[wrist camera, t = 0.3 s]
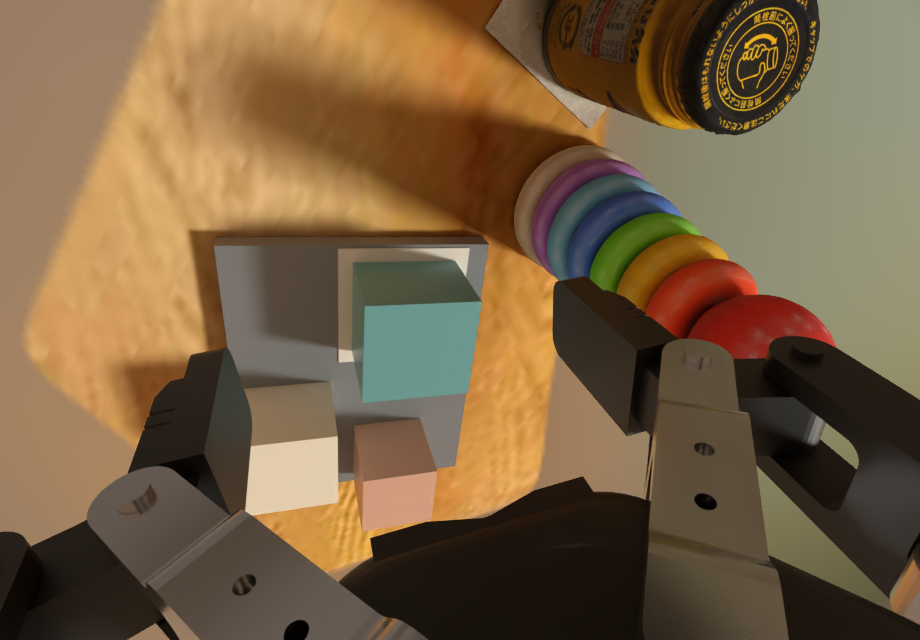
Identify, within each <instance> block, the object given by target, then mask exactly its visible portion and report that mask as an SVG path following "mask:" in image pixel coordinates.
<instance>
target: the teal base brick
mask: <svg viewBox="0 0 920 640" xmlns="http://www.w3.org/2000/svg"><path fill="white" fill-rule="evenodd" d="M481 304H482V301H481V299H480V298H479V296H478V295H477V293H476V292H475V290H474V289H473V287H472V286H471V284H470V283H469V281H468V279H467V278H466V276H465V275H464V273H463V272H462V270H461V269H460V267H459V266H458V264H457V263H456V261H408V262H353V290H352V354H353V359H354V364H355V369H356V374H357V379H358V384H359V389H360V394H361V399H362V403H369V402H379V401H390V400H400V399H410V398H421V397H431V396H441V395H452V394H462V393H468V388H469V382H470V375H471V369H472V362H473V356H474V349H475V343H476V336H477V330H478V323H479V317H480V311H481Z"/></svg>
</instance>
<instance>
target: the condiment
mask: <svg viewBox="0 0 920 640" xmlns="http://www.w3.org/2000/svg"><path fill="white" fill-rule="evenodd" d="M538 12H539V15H540V19H539V20H537V13H538ZM539 23H541V28H540V29H539V28H538V24H539ZM485 29H486V30H487V31H488V32H489V33H490V34H491V35H492V36H493V37H495V38H496V39H497V40H498V41H499V42H500V43H501V44H502V45H503V46H504V47H505V48H506V49H507V50H508V51H509V52H510V53H511V54H512V55H513V56H514V57H515V58H516V59H518V60H519V61H520V62H521V64H522V65H524V66H525V67H526V68H527V69H528V70H529V71H530V72H531V73H532V74H533V75H534V76H535V77H536V78H537V79H538V80H539V81H540V82H541V83H542V84H543V85H544V86H545V87H546V88H547V89H548V90H549V91H550V92H551V93H552V94H553V95H554V96H555V97H556V98H558V99H559V100H560V101H561V102H562V103H563V104H564V105H565V106H566V107H567V108H568V109H569V110H570V111H571V112H572V113H573V114H574V115H575V116H576V117H577V118H578V119H579V120H580V121H581V122H583V123H584V124H585V125H586V126H587V127H588V128H589V129H591V128H592V127H593V125H594V124H595V123H596V122H597V120H598V119H599V118H600V116H601V115H602V114H603V112H604V111H605V109H606V108H607V107H611V108H613V109H616V110H619V111H621V112H623V113H627V114H630V115H632V116H636V117H639V118H641V119H643V120H646V121H648V122H651V123H656V124H657V125H659V126H665V127H668V128H673V129H678V130H681V129H691V128H695V129H704V130H706V131H709V132H715V134H731V135H739V134H743V133H746V132H749V131H752V130H754V129H756V128H758V127H759V126H761V125H763V124H765V123H766V122H768V121H769V120H771V119H772V118H773V117H774V116H775V115H776V114H778V113H779V112H780V111H781V110H782V109H783V107H784V106H785V105H786V104H787V103H788V102H789V101H790V100H791V99H792V97H793V96H794V95H795V94H796V93H797V92H799V91H800V88H801V84H802V82H803V80H804V79H805V77H806V75H807V73H808V71H809V69H810V67H811V65H812V62H813V59H814V55H815V51H816V47H817V43H818V40H819V32H820V20H819V15H818V4H817V0H503V1H502V2H501V3H500V5H499V7H498V9H497V10H496V12H495V13H494V15H493V16H492V18H491V19H490V21H489V22H488V24H487V25H486V26H485Z"/></svg>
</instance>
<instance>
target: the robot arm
mask: <svg viewBox="0 0 920 640" xmlns="http://www.w3.org/2000/svg"><path fill="white" fill-rule="evenodd" d="M553 341H554V345H555V348H556V351H557V353H558V355H559V356H560V357H561V359H562V360H563V361H564V362H565V363H566V365H567V366H568V367H569V368H570V369H571V371H572V372H573V373H574V374H575V375H576V376H577V378H578V379H579V380H580V381H581V382H582V384H583V385H584V386H585V387H586V388H587V389H588V391H589V392H590V393H591V394H592V395H593V397H594V398H595V399H596V400H597V401H598V402H599V404H600V405H601V406H602V407H603V408H604V410H605V411H606V412H607V413H608V414H609V416H610V417H611V418H612V419H613V420H614V422H615V423H616V424H617V425H618V426H619V427H620V429H621V430H622V431H623V432H624V433H625V434H626V436H629V435H633V434H637V433H640V432H644V431H647V432H648V433H649V435H650V438H649V445H648V454H647V463H646V473H645V483H644V494H643V499H642V498H639V497H635V496H631V495H627V494H622V493H614V492H593V491H592V489H591V488H590V486H589V485H588V483H587V482H586V480H585V479H584V477H579V478H576V479H572V480H569V481H565V482H562V483H558V484H555V485H552V486H548V487H545V488H541V489H538V490H535V491H533V492H531V493H529V494H527V495H526V496H524V497H522V498H520V499H518V500H517V501H515V502H513V503H511V504H510V505H508V506H506V507H504V508H503V509H501V510H499V511H497V512H496V513H494V514H492V515H490V516H488V517H485V518H477V519H463V520H448V521H433V522H424V523H421V524H417V525H414V526H411V527H407V528H404V529H400V530H397V531H393V532H390V533H387V534H383V535H380V536H376V537H373V538H370V540H371V546H372V552H373V557H371V558H370V559H368V560H366V561H364V562H363V563H361V564H360V565H359V566H357V567H356V568H354V569H353V570H351V571H350V572H349V573H348V574H347V575H346V576H344V577H343V578H342V579H341V580H340V581H339V582H337V581H336V580H334V579H333V578H332V577H331V576H329V575H328V574H327V573H325V572H324V571H323V570H322V569H320V568H319V567H318V566H316V565H315V564H314V563H312V562H311V561H310V560H309V559H307V558H306V557H305V556H303V555H302V554H301V553H300V552H298V551H297V550H296V549H294V548H293V547H292V546H290V545H289V544H288V543H287V542H285V541H284V540H283V539H281V538H280V537H279V536H278V535H276V534H275V533H274V532H272V531H271V530H270V529H268V528H267V527H266V526H265V525H263V524H262V523H261V522H259V521H258V520H257V519H256V518H254V517H253V516H252V515H250V514H249V513H247V512H246V511H245V508H246V496H247V485H248V473H249V461H250V450H251V438H252V416H251V410H250V406H249V402H248V399H247V396H246V394H245V391H244V388H243V385H242V382H241V379H240V377H239V374H238V371H237V368H236V365H235V362H234V360H233V357H232V354H231V352H230V351H229V349H228V348H222V349H217V350H212V351H207V352H202V353H197V354H193V355H191V357H190V360H189V363H188V366H187V370H186V373H185V377H184V379H179V380H174V381H170V382H169V383H168V384H167V385H166V386H165V387H164V389H163V390H162V391H161V392H160V393H159V394H158V395H157V396H156V397H155V399H154V402H153V404H152V407H151V410H150V413H149V415H150V417H148V418H147V421H146V424H145V427H144V428H145V430H144V431H143V432H142V435H141V438H140V440H139V443H138V446H137V449H136V452H135V454H134V457H133V460H132V463H131V465H130V469H129V471H128V474H127V475H124V476H122V477H121V478H119V479H117V480H116V481H114V482H113V483H111V484H110V485H108V486H107V487H106V488H105V489H104V490H102V491H101V492H100V493H99V494H98V496H97V497H96V498H95V499H94V501H93V502H92V504H91V506H90V507H89V510H88V513H87V520H85V521H84V522H82V523H80V524H78V525H76V526H74V527H72V528H70V529H68V530H65V531H63V532H61V533H59V534H57V535H54V536H52V537H50V538H48V539H46V540H44V541H42V542H40V543H37V544H35V545H33V546H30V545H29V543H28V542H27V541H26V540H25V538H24V537H23V536H22V535H20V534H18V533H15V532H0V640H127V639H129V638H131V637H133V636H134V635H136V634H138V633H139V632H141V631H143V630H145V629H146V628H148V627H150V626H151V625H153V624H154V626H155V627H156V628H157V629H158V631H159V632H160V633H161V634H162V635H163V636H164V638H165V639H166V640H920V400H919V399H917V398H916V397H914V396H913V395H911V394H910V393H908V392H906V391H905V390H903V389H902V388H900V387H898V386H897V385H895V384H894V383H892V382H890V381H889V380H887V379H885V378H884V377H882V376H881V375H879V374H878V373H876V372H874V371H873V370H871V369H869V368H868V367H866V366H864V365H863V364H861V363H860V362H858V361H857V360H855V359H853V358H852V357H850V356H849V355H847V354H845V353H844V352H842V351H841V350H839V349H837V348H836V347H834V346H832V345H830V344H828V343H826V342H823V341H820V340H817V339H813V338H809V337H802V336H784V337H780V338H777V339H775V340H773V341H772V342H771V343H770V345H769V349H768V352H767V356H766V358H749V359H733V358H732V356H731V354H730V353H729V352H728V351H727V350H725V349H724V348H722V347H721V346H719V345H716V344H714V343H711V342H708V341H704V340H699V339H678V338H677V337H676V336H675V335H673V334H672V333H671V332H669V331H668V330H667V329H666V328H664V327H663V326H662V325H660V324H659V323H658V322H657V321H655V320H654V319H653V318H651V317H648V314H646V313H645V312H644V311H643V310H641V309H638V307H637V306H636V305H635V304H634V303H632V302H631V301H630V300H628V299H627V298H626V297H624V296H621V295H619V294H616V293H614V292H611V291H609V290H605V291H604V290H602V289H601V288H600V287H599V286H598V285H596V284H595V283H594V282H593V281H591V280H590V279H589V278H588V277H586V276H581V277H576V278H571V279H566V280H561V281H557V282H556V283H555V286H554V291H553ZM826 423H827V424H829V425H830V426H831V427H832V428H834V429H835V430H836V431H837V432H839V433H840V434H842V435H843V436H844V437H845V438H846V439H848V440H849V441H850V442H851V444H852V445H853V446H854V448H855V450H856V451H857V454H858V457H859V465H858V469H855V468H854V467H853V466H852V465H850V464H849V463H848V462H847V461H846V460H844V459H843V458H842V457H841V456H840V455H838V454H837V453H836V452H835V451H834V450H832V449H831V448H830V447H829V446H827V445H826V444H825V443H824V442H823V441H822V440H820V437H821V435H822V432H823V429H824V427H825V424H826ZM756 465H757V466H758V467H759V468H760V469H761V470H762V471H763V472H764V473H765V474H766V475H767V476H768V477H769V478H770V479H771V480H772V481H773V482H774V483H775V484H776V485H777V486H778V487H779V488H780V489H781V490H782V491H783V492H784V493H785V494H786V495H787V496H788V497H789V498H790V499H791V500H792V501H793V502H794V503H795V504H796V505H797V506H798V507H799V508H800V509H801V510H802V511H803V512H804V513H805V514H806V515H807V516H808V517H809V518H810V519H811V520H812V521H813V522H814V523H815V525H817V526H818V528H820V530H821V531H822V532H824V534H825V535H826V536H827V537H828V538H829V539H831V541H832V542H833V543H835V545H836V546H837V547H838V548H839V549H840V550H841V551H842V552H843V553H844V554H845V555H846V556H847V557H848V558H849V559H850V560H851V561H852V562H853V563H854V564H855V565H856V566H857V567H858V568H859V569H860V570H861V571H862V572H863V573H864V574H865V575H866V576H867V577H868V578H869V579H870V580H871V581H872V582H873V583H874V584H875V585H876V586H877V587H878V588H879V589H880V590H881V591H882V592H883V593H884V594H885V595H886V596H887V597H888V598H889V599H890V602H891V606H892V609H893V611H894V612H893V611H890V610H888V609H886V608H884V607H882V606H879V605H877V604H875V603H873V602H870V601H868V600H866V599H864V598H862V597H860V596H857V595H855V594H853V593H851V592H849V591H846V590H844V589H842V588H840V587H838V586H835V585H833V584H831V583H829V582H826V581H825V580H822V579H820V578H818V577H816V576H813V575H811V574H809V573H807V572H805V571H803V570H800V569H798V568H796V567H794V566H792V565H789V564H787V563H785V562H782V561H780V560H778V559H776V558H774V557H772V556H770V555H769V554H768V548H767V540H766V533H765V525H764V518H763V510H762V503H761V496H760V488H759V481H758V474H757V467H756Z"/></svg>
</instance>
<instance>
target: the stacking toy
mask: <svg viewBox="0 0 920 640" xmlns="http://www.w3.org/2000/svg"><path fill="white" fill-rule="evenodd" d="M514 228H515V234H516V237H517V240H518V243H519V245H520V247H521V248H522V250H523V251H524V253H525V254H526V255H527V256H528V257H529V258H530V259H531V260H532V261H533V262H535V263H536V264H538V265H539V266H541V267H543V268H545V269H546V270H547V271H548V272H549V273H550V274H552V275H553V276H554V277H556V278H557V279H558V280H559V281H561V280H566V279H571V278H576V277H581V276H586V277H588V278H589V279H590V280H591V281H593V282H594V283H595V284H596V285H598V286H599V287H600V288H601V289H602V290H604V291H605V290H609V291H611V292H614V293H616V294H619V295H621V296H624V297H626V298H627V299H628V300H630V301H631V302H632V303H634V304H635V305H636V306H637V307H638V309H641V310H643V311H644V312H645V313H646V314H648V317H651V318H653V319H654V320H655V321H657V322H658V323H659V324H660V325H662V326H663V327H664V328H666V329H667V330H668V331H669V332H671V333H672V334H673V335H675V336H676V337H677V338H678V339H699V340H704V341H708V342H711V343H714V344H716V345H719V346H721V347H722V348H724V349H725V350H727V351H728V352H729V353H730V354H731V356H732V358H733V359H749V358H766V356H767V352H768V349H769V345H770V343H771V342H772V341H773V340H775V339H777V338H780V337H784V336H802V337H809V338H813V339H817V340H820V341H823V342H826V343H828V344H830V345H832V346H834V347H836V345H835V343H834V341H833V338H832V336H831V334H830V332H829V331H828V330H827V328H826V327H825V326H824V324H823V323H822V322H821V321H820V320H819V319H818V318H817V317H816V316H815V315H814V314H812V313H811V312H810V311H808V310H807V309H805V308H804V307H802V306H800V305H798V304H796V303H794V302H792V301H789V300H787V299H784V298H781V297H776V296H770V295H758V289H757V286H756V283H755V281H754V279H753V277H752V276H751V275H750V274H749V273H748V271H747V270H745V269H744V268H743V267H741V266H740V265H738V264H736V263H734V262H731V261H729V260H728V257H727V255H726V253H725V252H724V251H723V249H722V248H721V247H720V246H719V245H717V243H715V242H714V241H712V240H710V239H708V238H706V237H704V236H702V235H701V233H700V232H699V230H698V229H697V228H696V227H695V226H694V225H693V224H691V223H690V222H689V221H687V220H686V219H684V218H682V216H681V214H680V212H679V211H678V210H677V208H676V207H675V206H674V205H673V204H672V203H671V202H670V201H668V200H667V199H666V198H664V197H662V196H660V194H659V192H658V191H657V190H656V189H655V188H654V187H653V186H652V185H651V184H650V183H648V182H647V181H646V179H645V178H644V177H643V176H642V174H640V172H639V171H638V170H636V169H635V168H634V167H632V166H630V165H629V164H627V163H626V162H625V161H624V160H623V159H622V158H621V157H620V156H618V155H617V154H616V153H614V152H613V151H611V150H609V149H606V148H603V147H600V146H594V145H582V146H575V147H571V148H568V149H565V150H562V151H560V152H558V153H556V154H554V155H552V156H551V157H549V158H548V159H546V160H545V161H544V162H542V163H541V164H540V165H539V166H538V167H537V168H536V169H535V170H534V171H533V172H532V174H531V175H530V176H529V178H528V179H527V181H526V182H525V184H524V186H523V188H522V189H521V192H520V194H519V196H518V199H517V202H516V206H515V212H514Z"/></svg>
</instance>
